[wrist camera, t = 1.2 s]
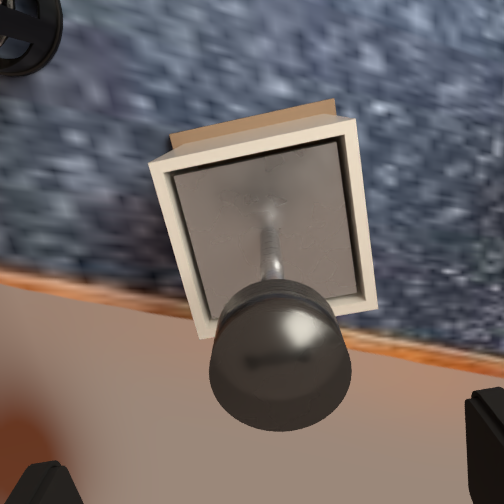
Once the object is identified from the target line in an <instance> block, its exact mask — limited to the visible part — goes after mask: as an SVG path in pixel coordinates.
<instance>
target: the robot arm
mask: <svg viewBox="0 0 504 504" xmlns="http://www.w3.org/2000/svg"><path fill="white" fill-rule="evenodd" d="M465 422H466V444H467V465H468V486H469V492H470V496H471V499H472V501H473V504H504V389H503V388H501V387H495V388H489V389H483V390H477V391H473V392H472V395H471V399H466V400H465ZM5 504H83V501H82V499H81V497H80V495H79V493H78V491H77V489H76V487H75V484H74V482H73V480H72V478H71V476H70V474H69V471H68V469H67V468H66V467H65V466H61V464H60V463H59V462H58V461H56V460H55V461H48V462H42V463H36V464H31V465H30V466H28V468H27V469H26V470H25V472H24V473H23V475H22V476H21V478H20V479H19V481H18V483H17V484H16V486H15V488H14V489H13V491H12V492H11V494H10V496H9V497H8V499H7V500H6V502H5Z"/></svg>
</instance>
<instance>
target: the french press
mask: <svg viewBox="0 0 504 504" xmlns="http://www.w3.org/2000/svg"><path fill="white" fill-rule="evenodd" d="M36 2H37V12H38V18H35V17H32V16H30V15H27V14H24V13H22V12H19V11H17V10H15V0H0V47H1V46H2V45H3V44H4V43H5V41H6V40H7V39H8V37H11V38H14V39H18V40H22V41H26V42H30V43H31V44H30V46H29V48H28V49H27V51H26V52H25V53H24V54H23V55H22V56H21V57H18V58H15V59H2V58H0V75H6V76H24V75H28V74H31V73H34V72H36V71H37V70H39V69H41V68H43V67H44V66H45V65H46V64H47V63H48V62H49V61H50V60H51V59H52V57H53V56H54V54H55V53H56V51H57V49H58V46H59V44H60V41H61V36H62V30H63V14H62V8H61V3H60V0H36Z"/></svg>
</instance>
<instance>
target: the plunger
mask: <svg viewBox="0 0 504 504" xmlns="http://www.w3.org/2000/svg"><path fill="white" fill-rule="evenodd" d="M174 180H175V184H176V187H177V191H178V195H179V198H180V202H181V206H182V209H183V213H184V217H185V220H186V224H187V228H188V231H189V235H190V239H191V242H192V246H193V250H194V253H195V257H196V261H197V265H198V268H199V272H200V276H201V279H202V283H203V287H204V290H205V294H206V298H207V301H208V305H209V309H210V312H211V316H212V319H213V318H218V317H219V319H218V323H217V328H216V334H215V339H214V345H213V349H212V355H211V360H210V367H209V378H210V384H211V388H212V390H213V393H214V395H215V397H216V399H217V401H218V402H219V403H220V405H221V406H222V407H223V408H224V409H225V410H226V411H227V412H228V413H229V414H230V415H231V416H233V417H234V418H235V419H237V420H239V421H240V422H242V423H244V424H247V425H248V426H251V427H254V428H257V429H261V430H266V431H282V432H283V431H292V430H298V429H302V428H305V427H308V426H311V425H313V424H315V423H317V422H319V421H321V420H322V419H324V418H326V416H328V415H329V414H331V413H332V412H333V411H334V410H335V409H336V408H337V407H338V406H339V404H340V403H341V402H342V400H343V399H344V397H345V395H346V393H347V391H348V388H349V385H350V381H351V372H352V370H351V361H350V357H349V354H348V351H347V348H346V345H345V342H344V340H343V337H342V334H341V331H340V328H339V326H338V323H337V320H336V317H335V315H334V312H333V310H332V308H331V307H330V305H329V303H328V302H327V301H326V300H325V298H330V297H336V296H341V295H347V294H353V293H357V289H356V281H355V274H354V267H353V259H352V252H351V245H350V237H349V230H348V223H347V215H346V208H345V201H344V193H343V186H342V179H341V171H340V164H339V156H338V149H337V142H335V141H331V142H326V143H322V144H317V145H312V146H307V147H303V148H298V149H293V150H288V151H284V152H279V153H274V154H269V155H265V156H260V157H255V158H250V159H246V160H241V161H236V162H231V163H227V164H222V165H217V166H212V167H208V168H203V169H198V170H193V171H189V172H184V173H179V174H176V175H174Z"/></svg>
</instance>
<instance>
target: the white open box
mask: <svg viewBox="0 0 504 504" xmlns="http://www.w3.org/2000/svg"><path fill="white" fill-rule="evenodd" d="M169 135H170V139H171V143H172V147H173V150H172V151H170V152H168V153H166V154H164V155H162V156H161V157H159V158H157V159H155V160H153V161H151V162H149V163H148V164H149V168H150V171H151V175H152V178H153V182H154V185H155V189H156V192H157V196H158V199H159V203H160V206H161V209H162V213H163V216H164V220H165V223H166V227H167V230H168V234H169V237H170V241H171V244H172V247H173V251H174V254H175V258H176V261H177V265H178V268H179V272H180V275H181V279H182V282H183V286H184V289H185V292H186V296H187V299H188V303H189V306H190V310H191V313H192V317H193V320H194V324H195V327H196V330H197V334H198V337H199V340H202V339H208V338H213V337H215V334H216V328H217V323H218V319H219V317H218V318H213V319H212V316H211V312H210V309H209V305H208V301H207V298H206V294H205V290H204V287H203V283H202V279H201V276H200V272H199V268H198V265H197V261H196V257H195V253H194V250H193V246H192V242H191V239H190V235H189V231H188V228H187V224H186V220H185V217H184V213H183V209H182V206H181V202H180V198H179V195H178V191H177V187H176V184H175V180H174V175H176V174H179V173H184V172H189V171H193V170H198V169H203V168H208V167H212V166H217V165H222V164H227V163H231V162H236V161H241V160H246V159H250V158H255V157H260V156H265V155H269V154H274V153H279V152H284V151H288V150H293V149H298V148H303V147H307V146H312V145H317V144H322V143H326V142H331V141H335V142H337V149H338V156H339V164H340V171H341V179H342V186H343V193H344V201H345V208H346V215H347V223H348V230H349V237H350V245H351V252H352V259H353V267H354V274H355V281H356V289H357V293H353V294H347V295H341V296H336V297H330V298H325V300H326V301H327V302H328V303H329V305H330V307H331V308H332V310H333V312H334V315H335V316H339V315H345V314H351V313H356V312H362V311H368V310H374V309H378V304H377V295H376V287H375V278H374V270H373V262H372V253H371V245H370V237H369V228H368V220H367V211H366V203H365V195H364V186H363V178H362V169H361V161H360V153H359V144H358V136H357V127H356V119H354V118H348V117H342V116H336V109H335V101H334V98H332V99H327V100H323V101H318V102H314V103H309V104H304V105H300V106H295V107H291V108H286V109H282V110H277V111H273V112H268V113H263V114H259V115H254V116H250V117H245V118H241V119H236V120H232V121H227V122H222V123H218V124H213V125H209V126H204V127H200V128H195V129H191V130H186V131H181V132H177V133H172V134H169Z"/></svg>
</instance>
